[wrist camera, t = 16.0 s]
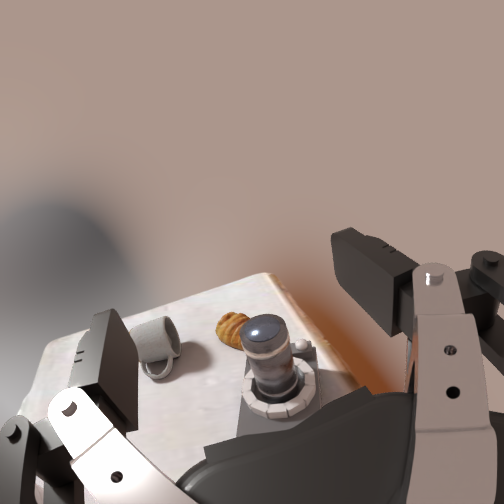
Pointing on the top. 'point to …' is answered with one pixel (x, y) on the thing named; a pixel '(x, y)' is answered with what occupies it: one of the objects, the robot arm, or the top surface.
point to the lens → (270, 357)
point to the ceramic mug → (156, 343)
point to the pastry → (231, 329)
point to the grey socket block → (286, 414)
